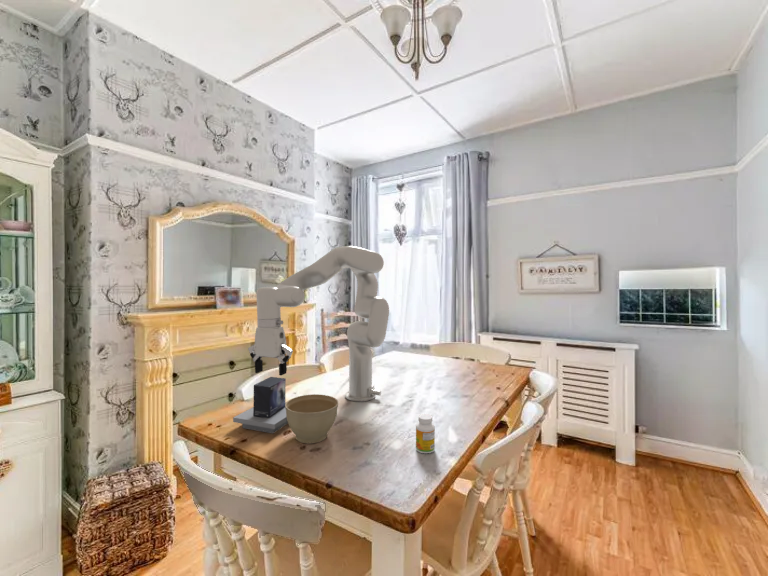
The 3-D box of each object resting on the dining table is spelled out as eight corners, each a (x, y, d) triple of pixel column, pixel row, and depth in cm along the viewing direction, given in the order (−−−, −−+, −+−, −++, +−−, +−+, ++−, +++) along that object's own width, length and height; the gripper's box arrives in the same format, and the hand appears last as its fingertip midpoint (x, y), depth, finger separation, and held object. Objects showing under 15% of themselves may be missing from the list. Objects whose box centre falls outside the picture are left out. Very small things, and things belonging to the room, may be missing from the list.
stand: (302, 417, 123) (302, 406, 122) (274, 437, 107) (274, 424, 107) (265, 411, 128) (265, 401, 128) (233, 429, 113) (233, 417, 112)
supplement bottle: (414, 445, 103) (414, 413, 102) (432, 444, 103) (432, 412, 103) (417, 454, 97) (417, 420, 97) (436, 453, 98) (436, 420, 97)
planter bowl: (313, 455, 96) (313, 417, 96) (274, 440, 105) (273, 405, 105) (348, 433, 110) (348, 399, 110) (311, 422, 119) (311, 390, 118)
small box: (270, 418, 112) (270, 386, 111) (252, 416, 113) (252, 385, 113) (286, 406, 122) (286, 377, 122) (270, 405, 123) (270, 376, 123)
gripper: (297, 322, 117) (298, 372, 118) (255, 321, 123) (257, 368, 124) (284, 326, 110) (285, 378, 111) (240, 324, 116) (242, 374, 117)
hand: (270, 373), depth 117 cm, fingers open, 9 cm apart
